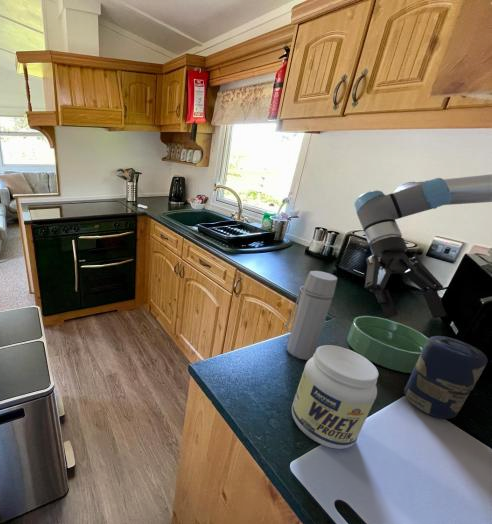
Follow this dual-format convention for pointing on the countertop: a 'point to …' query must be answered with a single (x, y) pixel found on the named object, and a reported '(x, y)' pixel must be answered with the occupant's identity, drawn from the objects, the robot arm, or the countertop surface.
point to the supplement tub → (335, 396)
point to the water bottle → (310, 314)
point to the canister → (444, 376)
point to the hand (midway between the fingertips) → (416, 316)
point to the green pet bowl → (386, 342)
